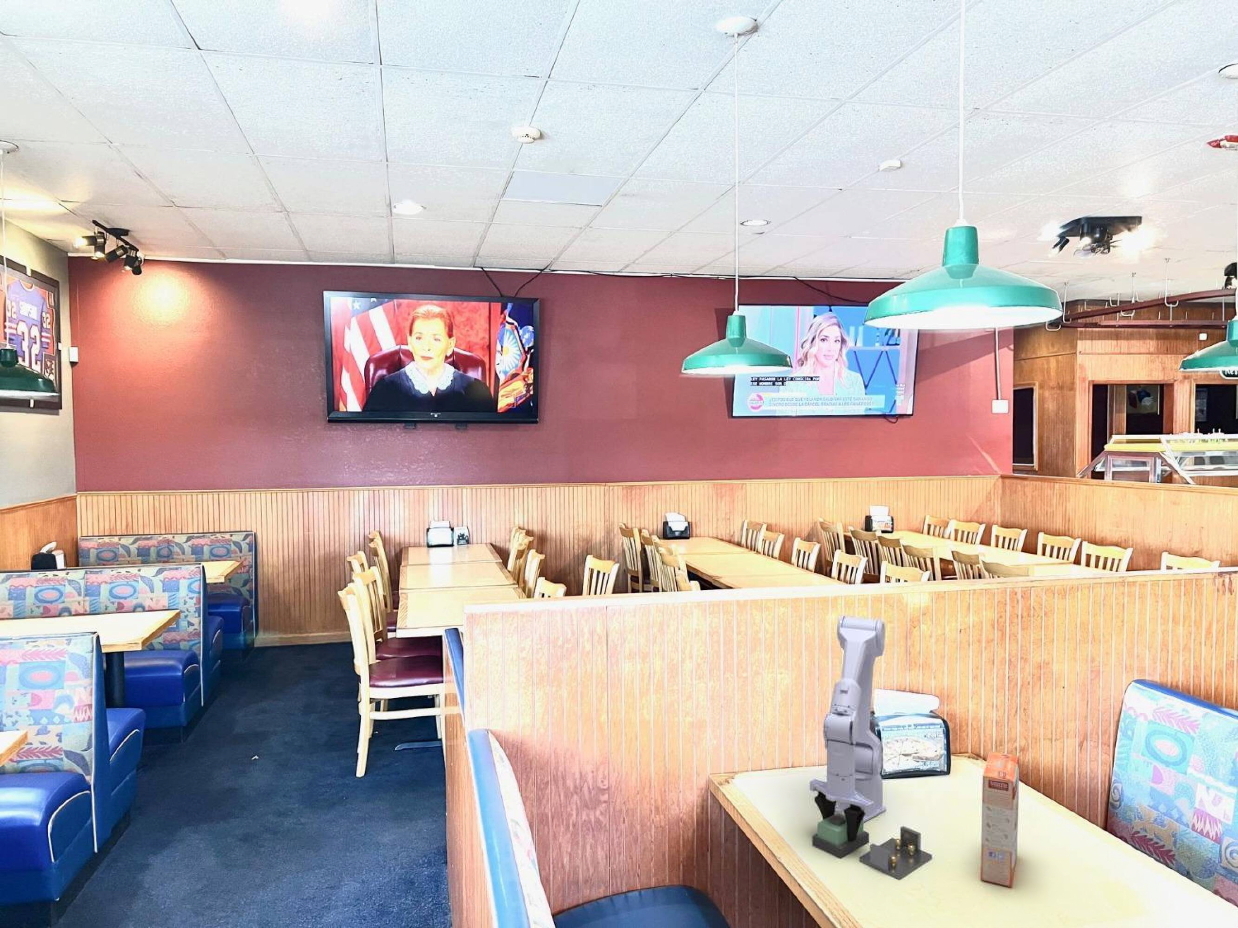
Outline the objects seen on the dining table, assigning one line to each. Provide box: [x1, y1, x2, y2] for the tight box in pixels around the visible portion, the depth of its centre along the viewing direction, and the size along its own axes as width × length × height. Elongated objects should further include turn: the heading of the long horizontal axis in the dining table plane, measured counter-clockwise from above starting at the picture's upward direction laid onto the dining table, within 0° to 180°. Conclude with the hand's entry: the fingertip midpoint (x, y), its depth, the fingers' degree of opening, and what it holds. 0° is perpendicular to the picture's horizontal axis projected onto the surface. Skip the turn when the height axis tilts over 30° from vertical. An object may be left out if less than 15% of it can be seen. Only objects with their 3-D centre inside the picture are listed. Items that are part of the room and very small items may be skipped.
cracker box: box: [980, 750, 1020, 888], centre depth 160 cm, size 14×6×21 cm, turn 150°
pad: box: [811, 830, 870, 859], centre depth 170 cm, size 10×7×2 cm
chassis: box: [858, 825, 933, 881], centre depth 163 cm, size 12×9×4 cm
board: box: [817, 810, 865, 846], centre depth 170 cm, size 9×5×4 cm, turn 129°
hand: (840, 834), depth 170 cm, fingers closed on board, 5 cm apart
